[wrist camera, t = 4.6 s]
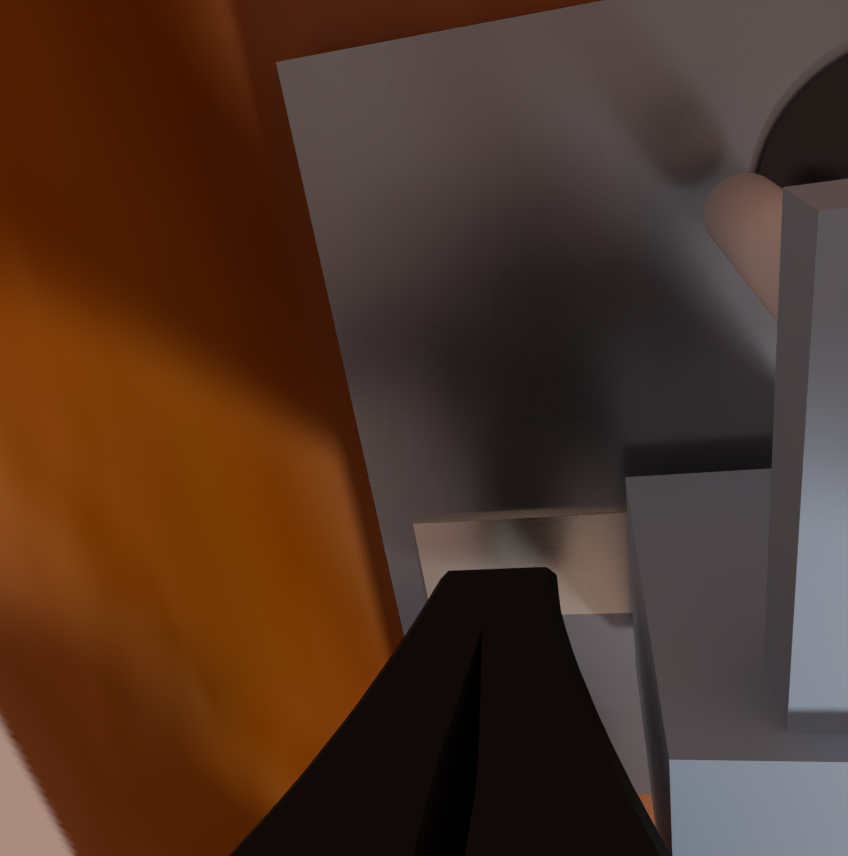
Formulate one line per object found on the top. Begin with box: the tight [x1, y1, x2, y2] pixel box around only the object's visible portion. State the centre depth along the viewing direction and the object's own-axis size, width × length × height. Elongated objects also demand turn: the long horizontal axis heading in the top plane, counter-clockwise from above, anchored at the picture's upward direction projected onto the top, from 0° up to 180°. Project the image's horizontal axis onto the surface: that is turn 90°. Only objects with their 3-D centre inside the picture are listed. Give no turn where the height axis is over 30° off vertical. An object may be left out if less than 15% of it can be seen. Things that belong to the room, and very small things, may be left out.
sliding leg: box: [625, 172, 848, 856], centre depth 7 cm, size 7×2×4 cm, turn 10°
